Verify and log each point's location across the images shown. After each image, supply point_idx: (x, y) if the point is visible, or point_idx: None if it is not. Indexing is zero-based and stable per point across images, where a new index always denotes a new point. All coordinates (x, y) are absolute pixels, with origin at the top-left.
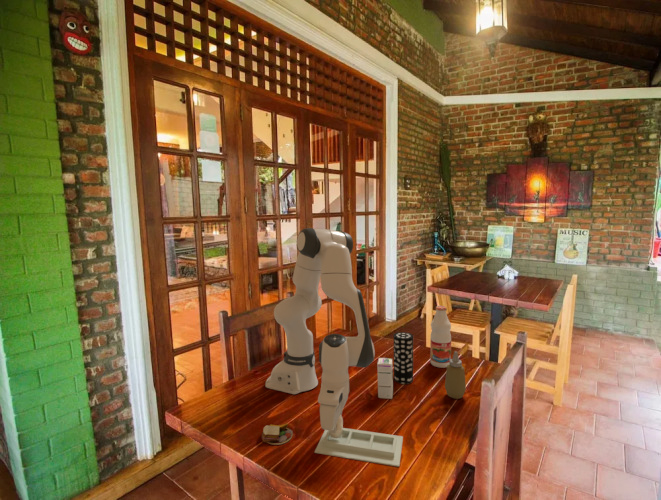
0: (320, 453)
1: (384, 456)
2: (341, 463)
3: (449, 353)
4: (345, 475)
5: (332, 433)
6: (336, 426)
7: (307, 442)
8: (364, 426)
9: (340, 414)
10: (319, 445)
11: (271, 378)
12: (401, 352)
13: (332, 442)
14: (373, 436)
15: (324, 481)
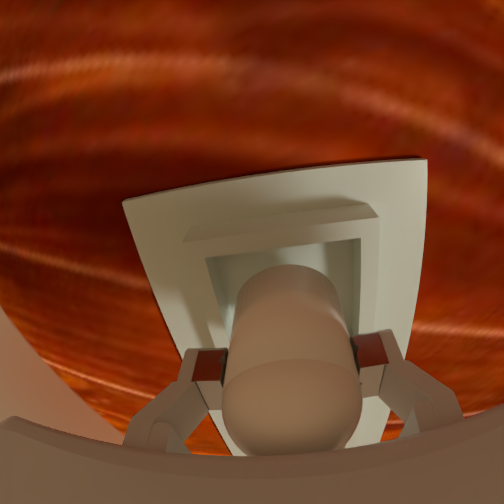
0: (135, 235)
1: None
2: (142, 343)
3: None
4: (103, 365)
5: (232, 324)
6: (220, 409)
7: (191, 96)
8: (442, 344)
9: (389, 403)
10: (186, 202)
11: None
12: None
13: (206, 303)
14: None
15: (37, 312)
